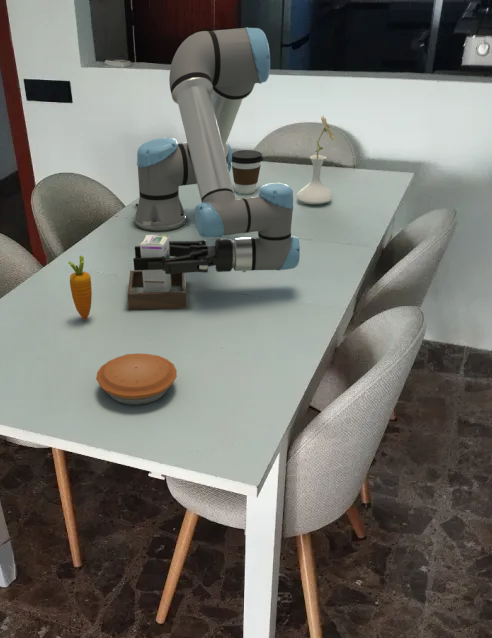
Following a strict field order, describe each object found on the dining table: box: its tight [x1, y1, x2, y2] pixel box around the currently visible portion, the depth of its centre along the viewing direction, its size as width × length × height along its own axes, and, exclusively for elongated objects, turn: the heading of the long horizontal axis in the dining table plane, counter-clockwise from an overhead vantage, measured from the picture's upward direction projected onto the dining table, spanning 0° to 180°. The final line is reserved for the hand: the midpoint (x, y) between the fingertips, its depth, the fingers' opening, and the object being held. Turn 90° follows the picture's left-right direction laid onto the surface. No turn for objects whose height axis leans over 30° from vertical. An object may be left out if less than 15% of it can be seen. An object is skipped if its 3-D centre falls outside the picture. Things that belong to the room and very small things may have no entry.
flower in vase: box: [296, 115, 335, 205], centre depth 216 cm, size 13×11×25 cm
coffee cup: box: [231, 149, 264, 195], centre depth 230 cm, size 11×11×12 cm
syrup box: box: [139, 234, 173, 293], centre depth 166 cm, size 6×6×14 cm
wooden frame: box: [127, 270, 187, 311], centre depth 169 cm, size 14×14×4 cm
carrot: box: [67, 255, 93, 321], centre depth 157 cm, size 5×5×15 cm
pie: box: [95, 353, 178, 406], centre depth 136 cm, size 15×16×5 cm
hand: (134, 258), depth 165 cm, fingers closed on syrup box, 6 cm apart
